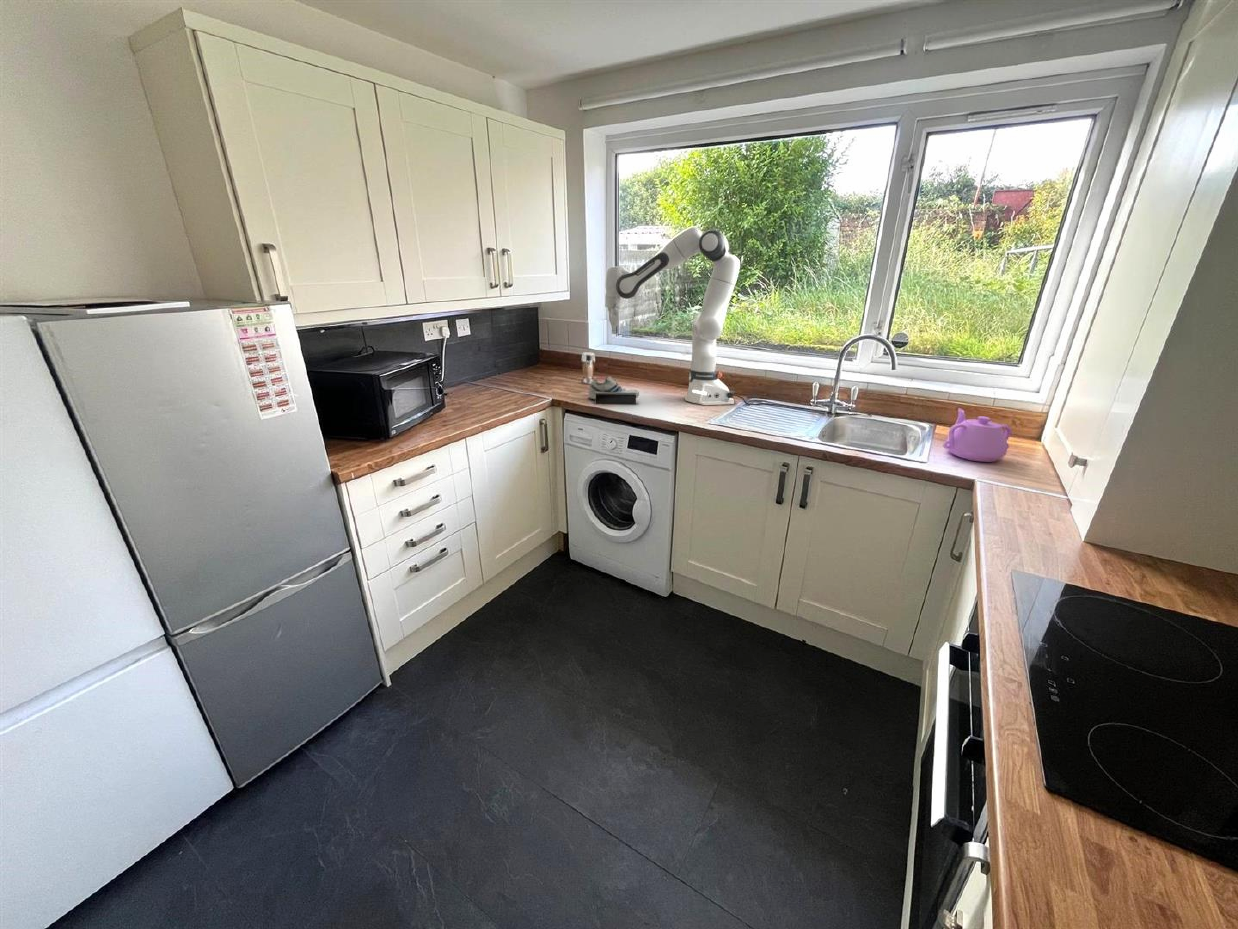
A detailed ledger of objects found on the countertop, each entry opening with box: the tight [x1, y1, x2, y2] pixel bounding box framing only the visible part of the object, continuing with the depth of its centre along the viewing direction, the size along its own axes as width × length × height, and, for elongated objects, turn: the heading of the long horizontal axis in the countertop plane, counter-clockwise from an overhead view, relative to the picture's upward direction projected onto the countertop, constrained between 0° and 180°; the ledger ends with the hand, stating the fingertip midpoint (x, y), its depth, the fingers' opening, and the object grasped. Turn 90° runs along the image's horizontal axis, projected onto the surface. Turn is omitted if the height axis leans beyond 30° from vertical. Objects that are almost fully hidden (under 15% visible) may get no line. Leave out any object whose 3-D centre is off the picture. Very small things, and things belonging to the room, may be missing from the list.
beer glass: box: [581, 352, 596, 385], centre depth 258 cm, size 7×7×15 cm
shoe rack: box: [595, 392, 637, 405], centre depth 221 cm, size 18×2×5 cm, turn 94°
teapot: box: [942, 407, 1012, 463], centre depth 170 cm, size 22×22×14 cm
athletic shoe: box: [587, 375, 640, 401], centre depth 227 cm, size 10×23×12 cm, turn 89°
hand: (613, 333), depth 238 cm, fingers closed
